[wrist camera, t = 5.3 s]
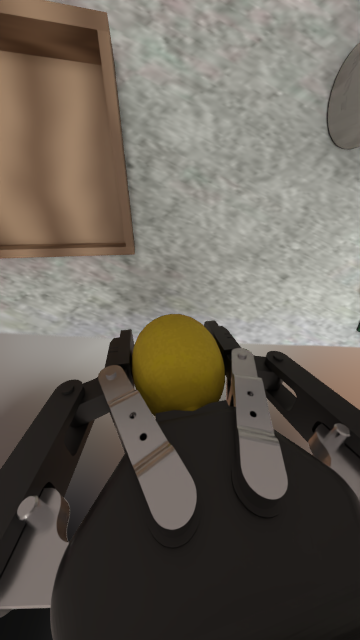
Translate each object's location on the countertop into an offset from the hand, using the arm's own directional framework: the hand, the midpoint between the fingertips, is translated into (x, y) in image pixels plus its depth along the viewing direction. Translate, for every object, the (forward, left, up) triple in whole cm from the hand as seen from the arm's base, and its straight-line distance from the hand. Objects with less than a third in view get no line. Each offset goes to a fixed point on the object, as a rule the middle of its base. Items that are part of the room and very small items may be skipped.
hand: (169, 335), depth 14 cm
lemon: (0, 0, -1) cm, 1 cm away
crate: (+10, -12, -15) cm, 22 cm away
